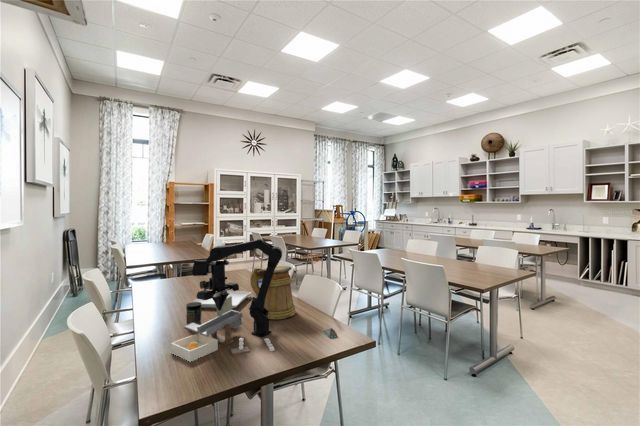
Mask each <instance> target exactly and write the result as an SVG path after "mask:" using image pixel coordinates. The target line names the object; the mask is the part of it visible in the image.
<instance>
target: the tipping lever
mask: <svg viewBox="0 0 640 426" xmlns="http://www.w3.org/2000/svg"><path fill="white" fill-rule="evenodd" d="M242 318H243V312H242V311H241V312H240V311H238V310H234V309H232V310H230V311H228V312H226V313H224V314H222V315H220V316H218V317H217V316H216V317H213V318H212V319H210V320H208V321H206V322H203V323H202V324H201V325H198V324H195V323H191V324H189V325H187V326H186V325H184V326H183V327H184V330H187V331H189V332H192V333H193V334H196V333H197V334H198V333H199V334H201V335H203V336H206V337H207V336H211V334H213V333H215V332H216V331H217V332H218V331H221V330H222V329H225V325H227V324H231V329H236V328H238V327H240V326H242V324H243V322H242Z"/></svg>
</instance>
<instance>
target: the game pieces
mask: <svg viewBox="0 0 640 426" xmlns="http://www.w3.org/2000/svg"><path fill="white" fill-rule="evenodd" d="M322 330H323V333H324V335H325V336H327V338H329V339H334V338H338V334H337V332H336V331H335V329H333V327H330V328H323V329H322ZM333 337H334V338H333ZM244 339H245V338H244V337H240V338H239V339H238V345H239V346H238V347H237V348H231V349H230V353H231V355H232V356H234V355H235V356H236V355H239V354H245V353H250V349H249V346H244V344H245V343H244ZM263 340H264V342H265V344H266V346H267V348H268V350H269V352H273V351H275V346H274V345H273V343H272V342H271V340H270V339H269V337H267V338H263Z"/></svg>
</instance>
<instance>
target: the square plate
mask: <svg viewBox="0 0 640 426" xmlns="http://www.w3.org/2000/svg"><path fill="white" fill-rule="evenodd" d="M216 292H217V291H216ZM227 293H229V295H228V296H232V309H236V308H237V307H238V306H239V305H240V304H241V303H242V302H243V301H244V300H246V299H247V298H249V296H251V294H252V291H243V290H242V291H241V290H240V291H239V290H237V291H233V290H227ZM192 302H201V303H202V309H217V307H216V304H215V302H214V300H213V299H208V300H201V299H197V298H196V299H195V300H192Z"/></svg>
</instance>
